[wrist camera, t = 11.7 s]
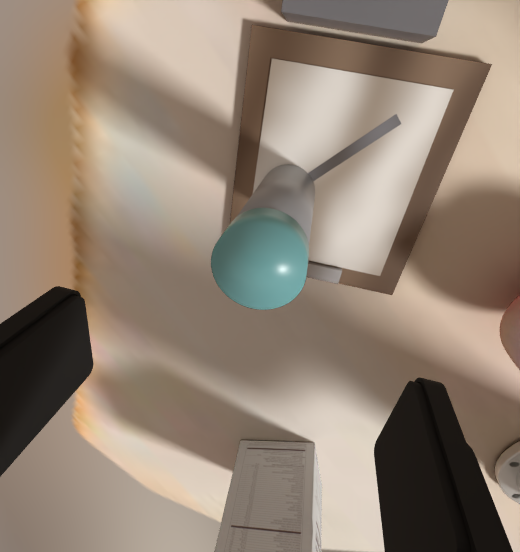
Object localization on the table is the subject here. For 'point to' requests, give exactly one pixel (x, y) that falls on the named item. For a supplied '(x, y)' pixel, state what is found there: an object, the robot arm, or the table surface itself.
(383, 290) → the clipboard
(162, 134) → the table surface
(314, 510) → the supplement box
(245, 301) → the marker
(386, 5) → the button housing
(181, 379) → the table surface
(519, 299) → the decorative fruit
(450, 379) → the table surface
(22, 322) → the robot arm
